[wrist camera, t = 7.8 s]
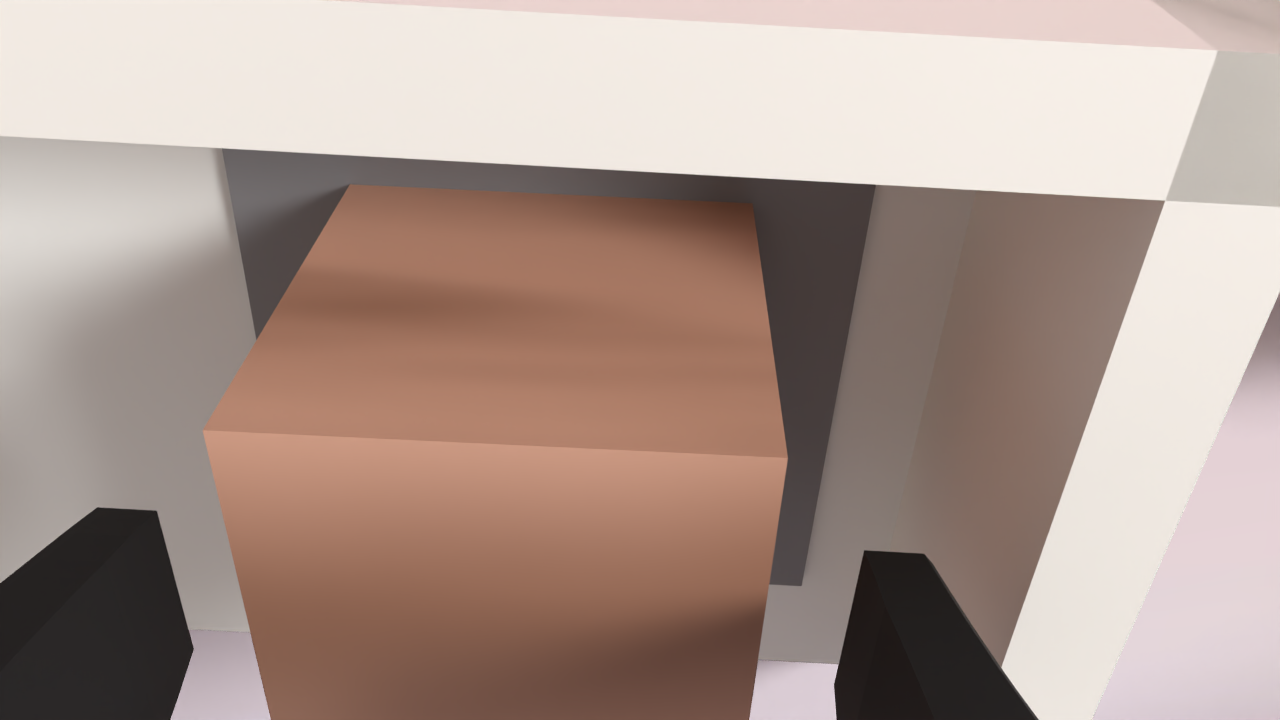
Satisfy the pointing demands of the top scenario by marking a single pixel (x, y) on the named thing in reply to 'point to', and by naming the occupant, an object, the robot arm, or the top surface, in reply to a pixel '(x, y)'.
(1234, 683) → the top surface
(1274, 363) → the top surface
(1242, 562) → the top surface
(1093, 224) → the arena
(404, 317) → the cube
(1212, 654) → the top surface
